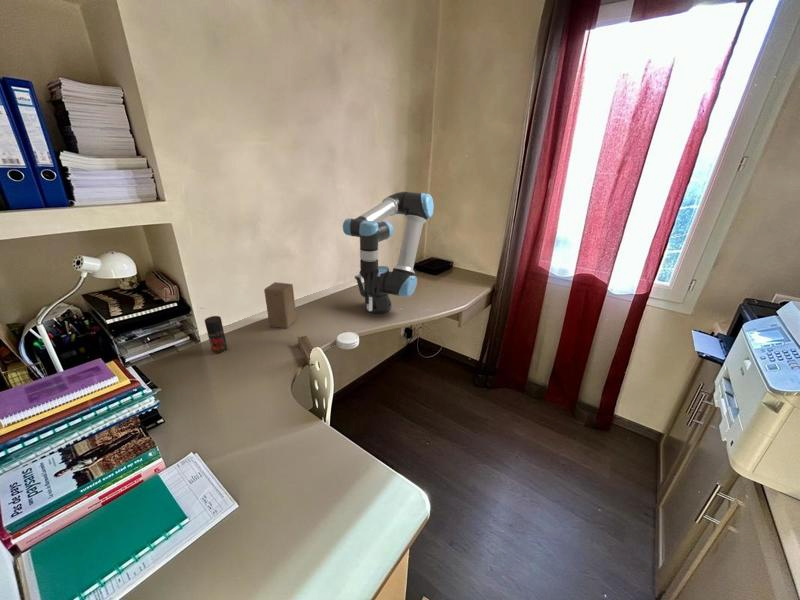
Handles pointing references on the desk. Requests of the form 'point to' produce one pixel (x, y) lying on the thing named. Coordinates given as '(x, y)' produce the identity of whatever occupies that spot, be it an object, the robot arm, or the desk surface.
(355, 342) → the coaster
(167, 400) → the desk surface
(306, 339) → the brown wooden bar
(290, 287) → the wooden block
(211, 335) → the deodorant
